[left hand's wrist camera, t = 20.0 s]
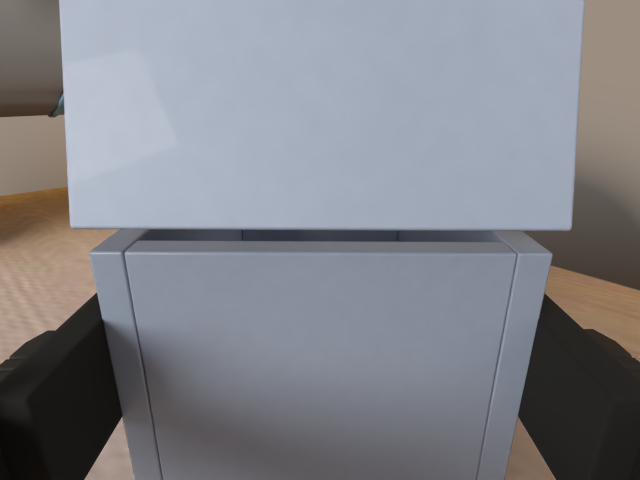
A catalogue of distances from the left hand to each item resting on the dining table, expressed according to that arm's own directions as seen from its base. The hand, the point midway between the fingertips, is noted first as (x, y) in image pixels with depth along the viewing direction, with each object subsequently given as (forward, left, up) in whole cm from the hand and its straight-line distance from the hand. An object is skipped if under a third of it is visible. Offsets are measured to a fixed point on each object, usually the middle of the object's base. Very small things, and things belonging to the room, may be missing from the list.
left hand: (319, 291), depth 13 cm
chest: (+2, -2, -7) cm, 8 cm away
